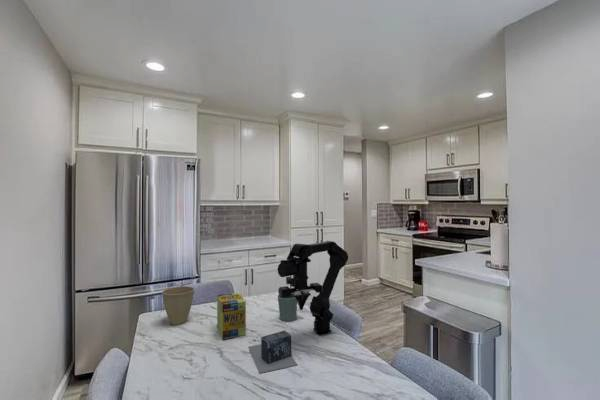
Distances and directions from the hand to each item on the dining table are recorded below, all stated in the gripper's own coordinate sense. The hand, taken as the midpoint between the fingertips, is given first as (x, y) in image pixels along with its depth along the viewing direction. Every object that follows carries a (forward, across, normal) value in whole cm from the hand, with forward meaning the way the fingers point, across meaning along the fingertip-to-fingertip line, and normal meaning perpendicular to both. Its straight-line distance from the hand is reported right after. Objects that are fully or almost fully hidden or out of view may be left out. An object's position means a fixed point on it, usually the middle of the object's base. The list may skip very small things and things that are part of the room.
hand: (301, 309), depth 125 cm
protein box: (+13, +27, -20) cm, 36 cm away
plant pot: (+13, +50, -41) cm, 66 cm away
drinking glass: (+13, -2, -24) cm, 28 cm away
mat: (+13, +16, +8) cm, 22 cm away
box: (+9, +9, +9) cm, 15 cm away
